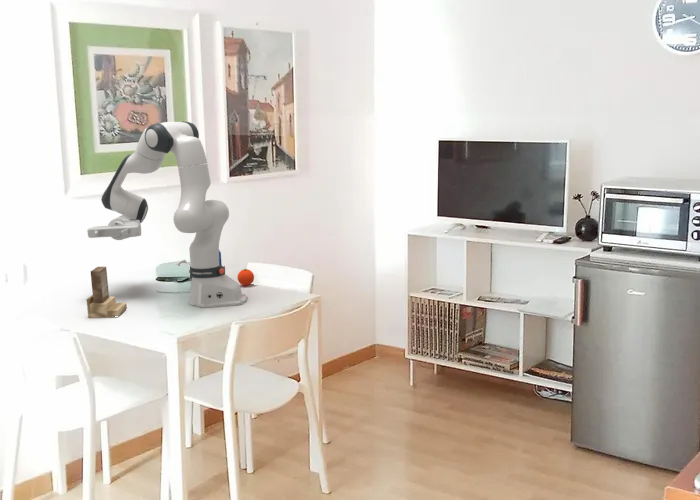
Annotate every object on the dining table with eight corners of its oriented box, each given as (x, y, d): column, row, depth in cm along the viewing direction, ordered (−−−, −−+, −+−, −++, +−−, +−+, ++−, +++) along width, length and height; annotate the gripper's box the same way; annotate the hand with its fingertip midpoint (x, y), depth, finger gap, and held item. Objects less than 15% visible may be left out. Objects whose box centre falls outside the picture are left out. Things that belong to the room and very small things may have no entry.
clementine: (238, 283, 338) (237, 267, 337) (254, 282, 339) (253, 266, 338) (237, 287, 330) (236, 271, 329) (254, 287, 331) (253, 270, 330)
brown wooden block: (109, 297, 299) (106, 266, 297) (102, 303, 292) (99, 271, 289) (100, 297, 300) (97, 266, 297) (93, 303, 292) (90, 271, 289)
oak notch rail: (126, 309, 302) (125, 291, 300) (118, 317, 291) (116, 298, 290) (98, 309, 302) (96, 291, 301) (88, 317, 291) (86, 299, 290)
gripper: (92, 222, 319) (80, 227, 305) (143, 219, 318) (133, 224, 305) (94, 237, 320) (82, 243, 306) (145, 235, 320) (135, 241, 306)
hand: (108, 234), depth 306 cm, fingers open, 8 cm apart
